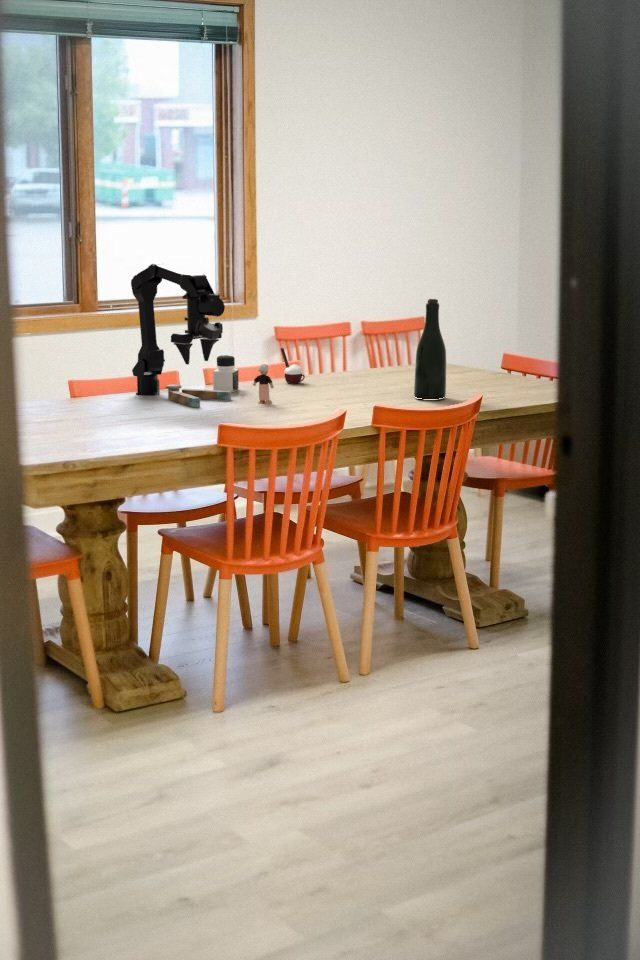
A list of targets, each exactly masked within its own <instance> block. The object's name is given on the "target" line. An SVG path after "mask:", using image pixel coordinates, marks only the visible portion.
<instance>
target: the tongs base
mask: <svg viewBox="0 0 640 960" xmlns="http://www.w3.org/2000/svg"><path fill="white" fill-rule="evenodd" d="M165 388H166V389H167V397H168V398H167V399H169V391H179V392H180V389H181V388H182V385H181V384H168V385H167V384H166V385H165ZM181 392H182V393H185V394H189V395H192V396H195V397H198V398H200V400H210V401H227V402H230V401H232V392H231V391H219V390H213V389H203V388H201V389H198V388H196V389H195V388H182V389H181Z"/></svg>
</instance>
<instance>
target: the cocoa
mask: <svg viewBox="0 0 640 960" xmlns="http://www.w3.org/2000/svg"><path fill="white" fill-rule="evenodd" d="M280 351H281V356H282V359H283V362H284V364H285V367H286V368H285V369H284V379H285V381H286V383H287V384H291V385H297V384H299V383H301V382H303V381H304V380H305V377H306V376H305V374H303V369H302V368H301V366H300V365H298V364H292V365H289V362H288V359H287V358H288V357H287V354H286V351H285V347H284V348H283V347H281V348H280Z"/></svg>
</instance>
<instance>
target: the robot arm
mask: <svg viewBox="0 0 640 960" xmlns="http://www.w3.org/2000/svg"><path fill="white" fill-rule="evenodd" d="M163 280H165V281H168V282H171V283H174V284H176V285H178V286H179V287H180V289H181V290H182V291H184V292H186V293H185V294H183V296H182V298H181V299H183V300H186V315H187V316H184V321H185V322H187V323H186V324H187V325H186V326H187V327H186V328H187V329H184V332H176V333H173V332H172V334H171V336H170V343H173V345H175V346H176V348H177V350H178V352H179V353H180V355H181V358H182V359H183V362H184V363H185V365H188V366H189V365H190V358H191V357H190V356H191V355H190V354H191V347H192V346H193V344H194V343H192V342H193V341H194V340H197V339H199V340H200V346H201V352H202V356H203V360H204V362H208V361H209V358H210V355H211V351H212V350H213V347H214V345H215V344H216V343H217V342H219V341H220V339H222V336H223V335H222V334H223V332H224V331H223V330H224V329H223V323H221V322H219V321H218V322H215V323H210V320H209V316H210V317H220V316H222V315H223V314H224V312H225V308H226V306H225V304H224V301H223V299H222V298H221V297H220V296H221V295H220V294H217V293H216V294H215V292H214V290H213V287H212V286H211V284H210V282H209V280H208V278H207V275H206V274H204V273H198V272H196V273H195V272H185V271H183V270H180V269H177V268H174V267H171V266H169V265H166V264H165V263H162V262H160V263H156V262H155V263H151V264H150V265H148V267H147V268H145V269H143V270H141V271H140V272H138V273H137V274H135V275H133V277H132V278H131V279H130V287H131V291H132V295H133V297H134V298H135V300H136V301H137V303H138V305H137V306H138V315H139V327H140V328H139V329H140V340H141V341H140V342H141V346H140V349H139V351H138V354H137V362H136V364H135V365H134V366H133V367H132V370H131V372H132V376H133V377H136V381H137V382H136V383H137V384H136V385H137V392H135V395H143V396H144V395H145V396H146V395H148V396H155V395H156V394H159V393H160V379H159V378H158V377H159V376H160V375H162V373H163V369H164V365H165V362H166V360H165V351H164V349H160V347H159V346H158V344H157V343H158V342H157V330H156V318H155V306H154V305H155V304H154V301H155V298H156V296H157V294H158V286H159V285H160V284H161V283H162V281H163ZM158 375H159V376H158Z"/></svg>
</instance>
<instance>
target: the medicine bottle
mask: <svg viewBox="0 0 640 960" xmlns="http://www.w3.org/2000/svg"><path fill="white" fill-rule="evenodd" d="M235 366H236V365H235V357H234V355H228V354H225V355H223V354H222V355H218V356H217V357H216V368H217V369H215V370H213V372H212V383H213V384H212V385H213V386H212V387H213V389H212V390H219V391H231V394H232V393H234V392H236V391H238V390H239V369H238V368H235Z"/></svg>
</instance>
